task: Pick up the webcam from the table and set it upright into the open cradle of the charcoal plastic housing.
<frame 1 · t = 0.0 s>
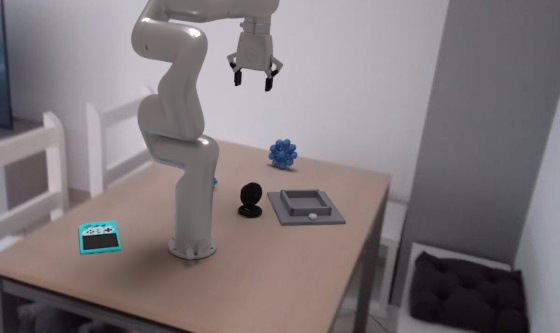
hand: (252, 88, 158), 37 cm above the table, tool pointing down, fingers open, 9 cm apart
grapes: (282, 168, 204), on the table
webcam: (249, 213, 166), on the table
gear: (201, 187, 181), on the table
housing: (304, 208, 172), on the table
handheld game console: (99, 240, 144), on the table
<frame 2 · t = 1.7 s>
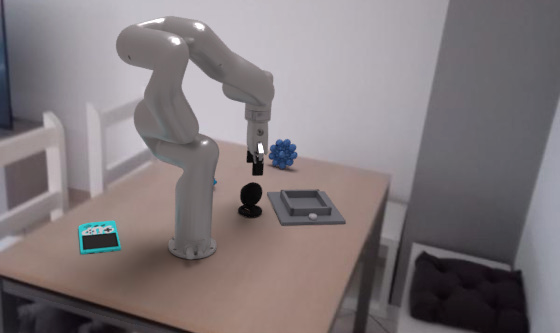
hand: (254, 168, 161), 14 cm above the table, tool pointing down, fingers open, 9 cm apart
nothing on the table moved.
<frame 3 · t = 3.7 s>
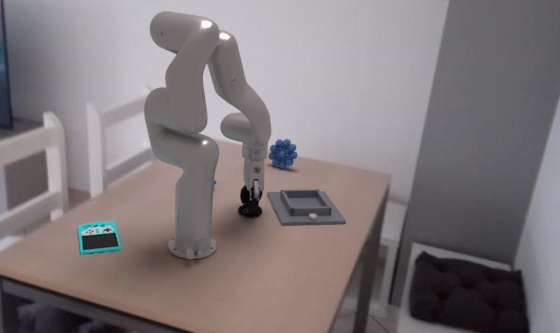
hand: (250, 205, 165), 2 cm above the table, tool pointing down, fingers closed on webcam, 6 cm apart
webcam: (249, 213, 166), on the table, touching gripper
everything else where it was.
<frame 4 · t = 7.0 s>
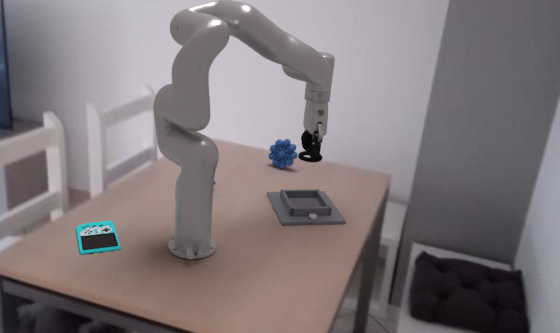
hand: (310, 151, 165), 19 cm above the table, tool pointing down, fingers closed on webcam, 6 cm apart
webcam: (309, 159, 166), point 17 cm above the table, touching gripper
everything else where it was.
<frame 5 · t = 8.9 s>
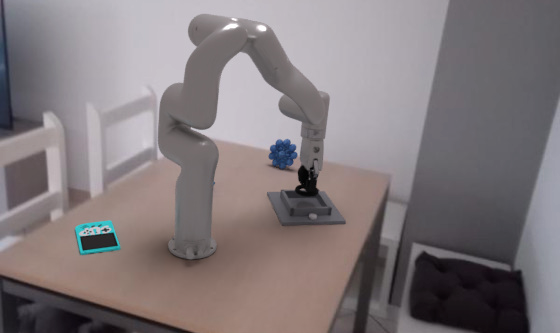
hand: (307, 185, 169), 8 cm above the table, tool pointing down, fingers closed on webcam, 6 cm apart
webcam: (306, 192, 170), point 5 cm above the table, touching gripper
everything else where it was.
when the fingers open (5 cm above the table, at t = 10.6 s): webcam drops 1 cm, resting on housing.
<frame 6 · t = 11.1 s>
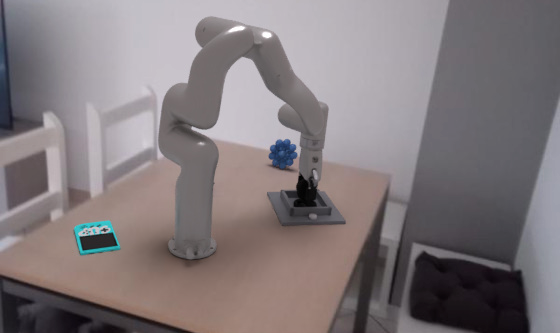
hand: (306, 193, 170), 5 cm above the table, tool pointing down, fingers open, 9 cm apart
webcam: (304, 206, 171), point 1 cm above the table, touching housing
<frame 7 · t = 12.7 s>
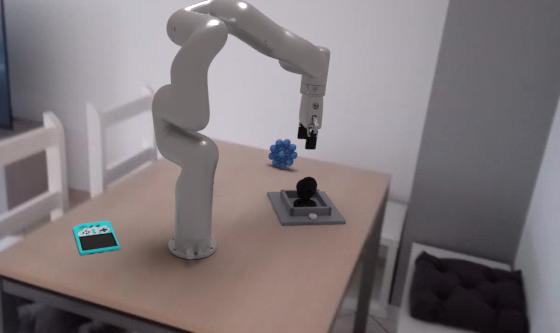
hand: (306, 143, 165), 21 cm above the table, tool pointing down, fingers open, 9 cm apart
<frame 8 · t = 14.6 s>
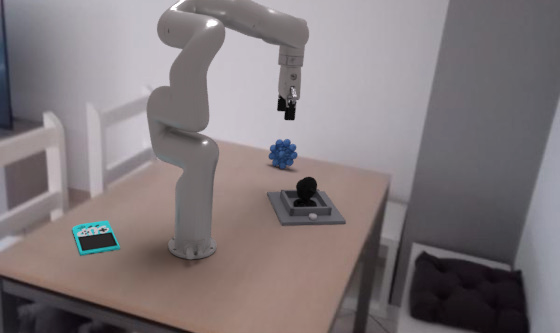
hand: (285, 115, 167), 28 cm above the table, tool pointing down, fingers open, 9 cm apart
at the end: webcam inside the target area on the housing (0.3 cm from its centre), point 0.8 cm above the housing's base; webcam tilted 0°; the gripper is holding nothing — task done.
